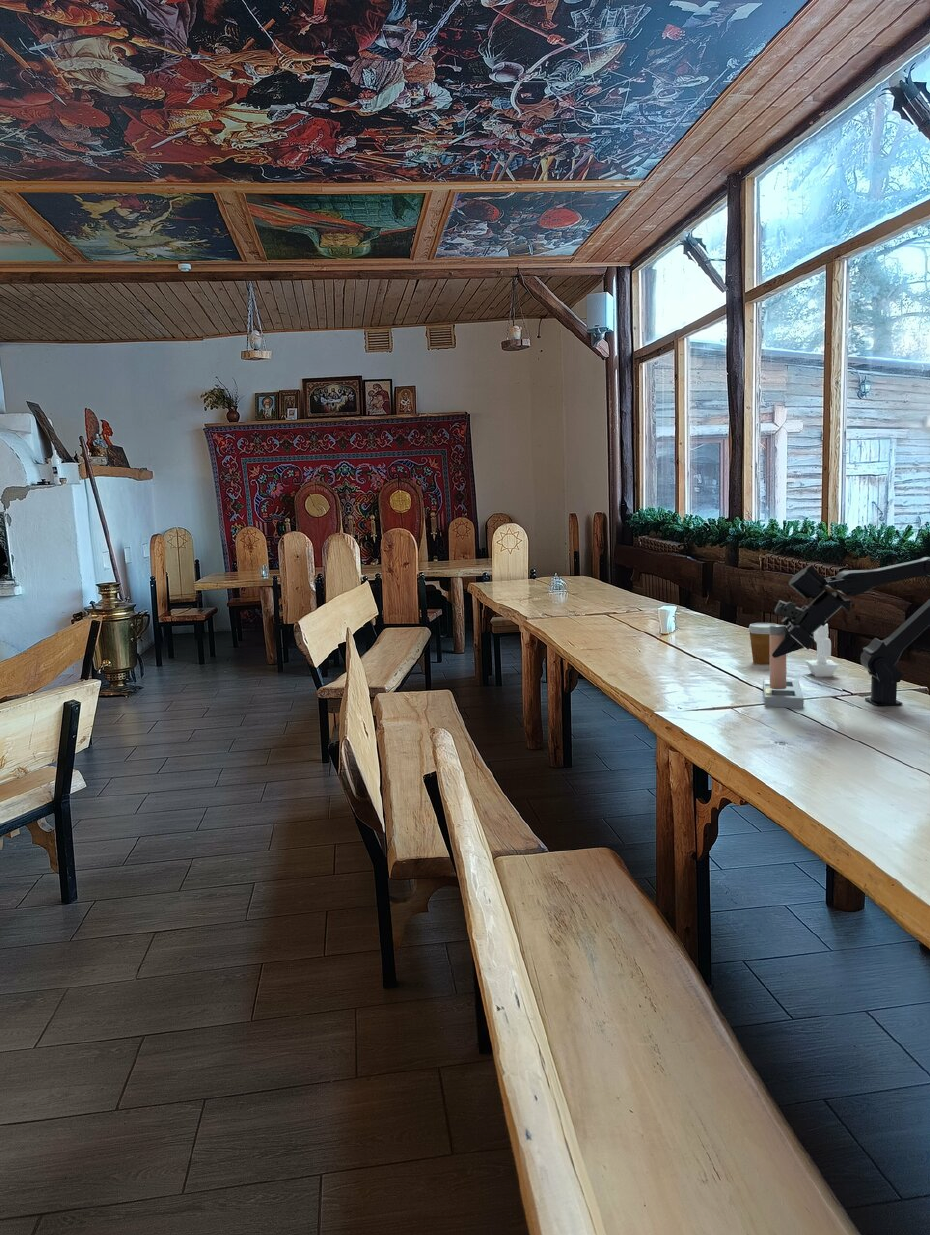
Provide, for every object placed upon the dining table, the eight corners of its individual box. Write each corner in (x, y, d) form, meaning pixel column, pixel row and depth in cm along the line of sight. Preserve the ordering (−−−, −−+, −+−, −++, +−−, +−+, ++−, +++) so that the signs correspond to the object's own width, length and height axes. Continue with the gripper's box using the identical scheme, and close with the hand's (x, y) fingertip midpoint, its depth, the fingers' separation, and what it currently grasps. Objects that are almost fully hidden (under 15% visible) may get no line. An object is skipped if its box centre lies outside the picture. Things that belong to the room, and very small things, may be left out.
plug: (788, 688, 204) (788, 627, 201) (772, 689, 204) (772, 627, 202) (783, 685, 208) (783, 624, 205) (767, 686, 208) (767, 625, 206)
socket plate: (803, 708, 199) (803, 696, 198) (764, 706, 202) (765, 695, 201) (798, 689, 218) (798, 678, 217) (763, 687, 221) (763, 677, 220)
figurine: (813, 678, 228) (814, 626, 226) (803, 671, 238) (804, 621, 235) (840, 678, 227) (841, 626, 225) (829, 671, 237) (830, 620, 234)
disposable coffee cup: (741, 661, 255) (741, 624, 253) (766, 658, 257) (767, 621, 256) (760, 667, 246) (761, 628, 244) (786, 663, 248) (787, 625, 247)
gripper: (790, 585, 210) (746, 627, 215) (799, 594, 192) (751, 639, 197) (822, 614, 209) (777, 655, 214) (834, 626, 191) (785, 671, 196)
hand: (772, 654), depth 205 cm, fingers closed on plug, 4 cm apart
